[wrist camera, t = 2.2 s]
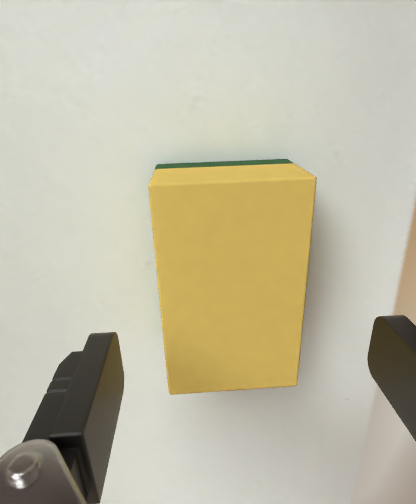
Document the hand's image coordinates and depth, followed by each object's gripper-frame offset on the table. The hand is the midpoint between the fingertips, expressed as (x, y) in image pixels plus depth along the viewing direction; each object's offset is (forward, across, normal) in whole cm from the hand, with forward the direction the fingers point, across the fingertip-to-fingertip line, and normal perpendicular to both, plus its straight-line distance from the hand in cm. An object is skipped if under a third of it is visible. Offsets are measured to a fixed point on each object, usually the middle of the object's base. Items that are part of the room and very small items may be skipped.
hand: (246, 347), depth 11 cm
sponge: (+6, 0, 0) cm, 6 cm away
